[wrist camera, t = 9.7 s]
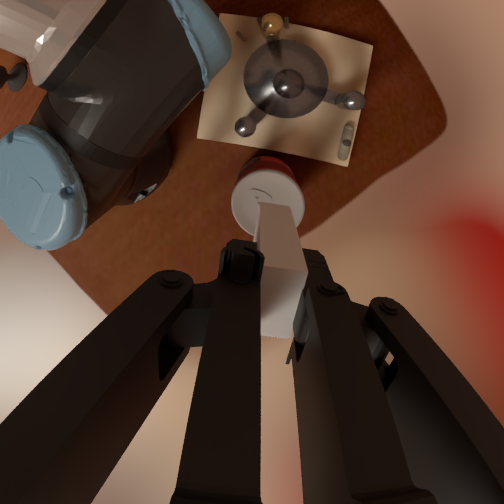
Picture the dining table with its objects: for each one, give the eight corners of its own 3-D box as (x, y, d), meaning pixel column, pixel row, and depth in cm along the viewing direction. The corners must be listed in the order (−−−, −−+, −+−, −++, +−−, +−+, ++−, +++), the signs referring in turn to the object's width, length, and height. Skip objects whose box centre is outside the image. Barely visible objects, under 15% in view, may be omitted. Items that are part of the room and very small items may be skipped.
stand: (199, 136, 41) (194, 139, 37) (222, 12, 33) (219, 4, 30) (343, 164, 42) (350, 169, 38) (369, 43, 34) (378, 38, 31)
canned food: (249, 146, 41) (245, 158, 31) (304, 168, 42) (317, 187, 32) (229, 197, 44) (220, 224, 34) (282, 216, 45) (288, 249, 35)
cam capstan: (355, 109, 36) (373, 110, 30) (238, 138, 38) (233, 144, 32) (325, 14, 31) (338, -2, 24) (206, 43, 33) (196, 31, 27)
